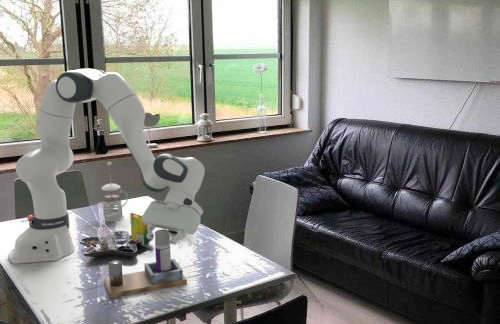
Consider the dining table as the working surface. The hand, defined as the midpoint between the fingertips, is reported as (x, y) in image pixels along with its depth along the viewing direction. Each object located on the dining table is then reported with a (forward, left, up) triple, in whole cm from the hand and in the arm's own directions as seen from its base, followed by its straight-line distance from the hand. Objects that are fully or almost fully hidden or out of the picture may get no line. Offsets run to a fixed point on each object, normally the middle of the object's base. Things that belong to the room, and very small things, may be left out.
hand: (160, 240), depth 169 cm
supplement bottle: (+17, +42, -14) cm, 48 cm away
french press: (-3, +70, -14) cm, 72 cm away
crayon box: (+1, +36, -14) cm, 39 cm away
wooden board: (-5, 0, -14) cm, 15 cm away
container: (+1, 0, -12) cm, 12 cm away
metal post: (-14, 0, -12) cm, 19 cm away
